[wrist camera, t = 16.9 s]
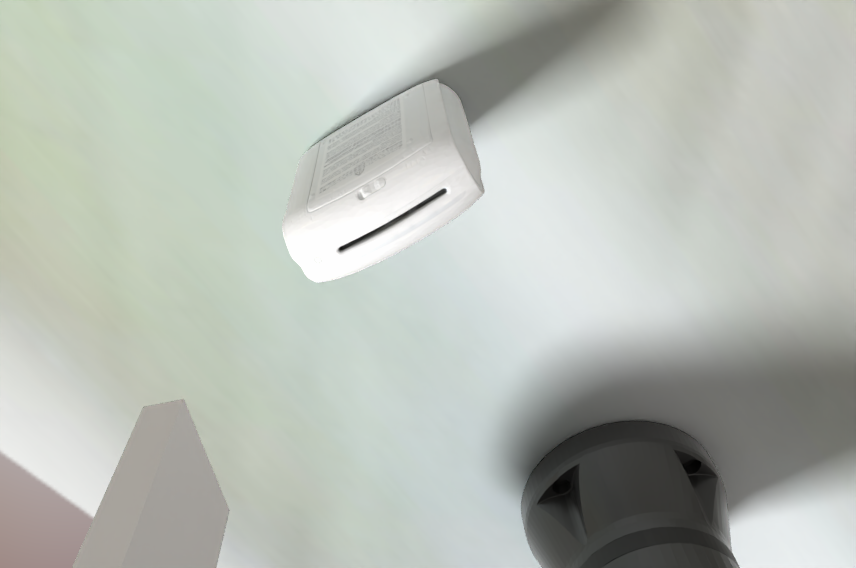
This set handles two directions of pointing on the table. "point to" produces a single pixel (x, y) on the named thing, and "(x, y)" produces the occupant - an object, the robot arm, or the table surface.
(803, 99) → the table surface
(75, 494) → the table surface
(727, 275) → the table surface
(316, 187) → the photo printer
